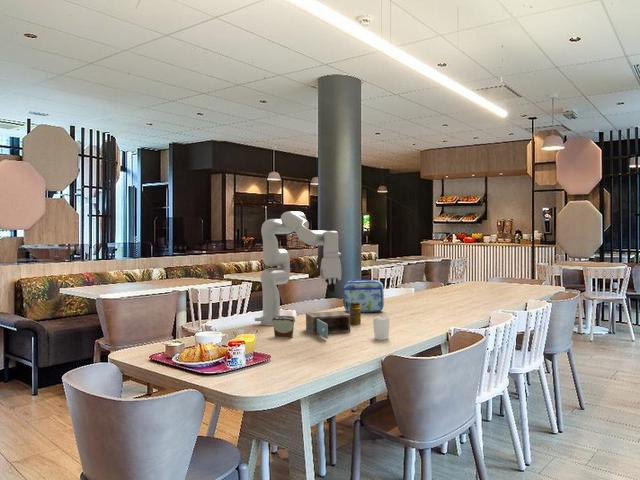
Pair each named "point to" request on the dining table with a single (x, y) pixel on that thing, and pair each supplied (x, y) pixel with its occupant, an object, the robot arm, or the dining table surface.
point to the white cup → (381, 328)
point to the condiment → (355, 314)
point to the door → (322, 328)
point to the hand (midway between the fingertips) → (331, 291)
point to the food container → (283, 326)
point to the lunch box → (364, 295)
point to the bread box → (329, 321)
